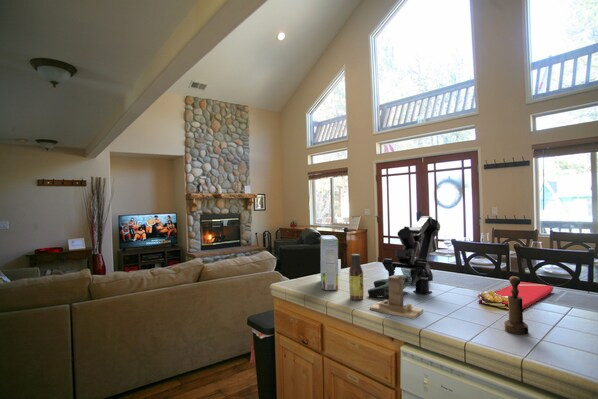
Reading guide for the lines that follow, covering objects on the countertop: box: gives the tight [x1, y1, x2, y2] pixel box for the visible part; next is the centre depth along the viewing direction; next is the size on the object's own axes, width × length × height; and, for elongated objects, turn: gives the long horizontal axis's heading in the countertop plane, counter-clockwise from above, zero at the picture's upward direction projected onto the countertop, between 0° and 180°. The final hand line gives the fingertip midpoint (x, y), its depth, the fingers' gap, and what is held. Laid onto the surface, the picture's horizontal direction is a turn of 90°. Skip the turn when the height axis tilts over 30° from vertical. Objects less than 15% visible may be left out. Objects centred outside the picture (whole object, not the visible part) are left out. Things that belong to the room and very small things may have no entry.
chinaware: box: [400, 268, 412, 281], centre depth 178 cm, size 15×15×8 cm
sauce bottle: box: [348, 253, 365, 301], centre depth 150 cm, size 7×6×20 cm
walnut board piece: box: [387, 274, 404, 307], centre depth 132 cm, size 5×4×12 cm
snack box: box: [320, 234, 339, 291], centre depth 175 cm, size 22×9×26 cm, turn 179°
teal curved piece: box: [367, 274, 411, 298], centre depth 156 cm, size 20×6×20 cm
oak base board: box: [369, 299, 424, 319], centre depth 132 cm, size 10×18×3 cm, turn 52°
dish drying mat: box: [478, 281, 555, 310], centre depth 145 cm, size 16×41×4 cm, turn 127°
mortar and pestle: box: [504, 275, 529, 336], centre depth 109 cm, size 7×6×18 cm
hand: (400, 283), depth 136 cm, fingers open, 9 cm apart
